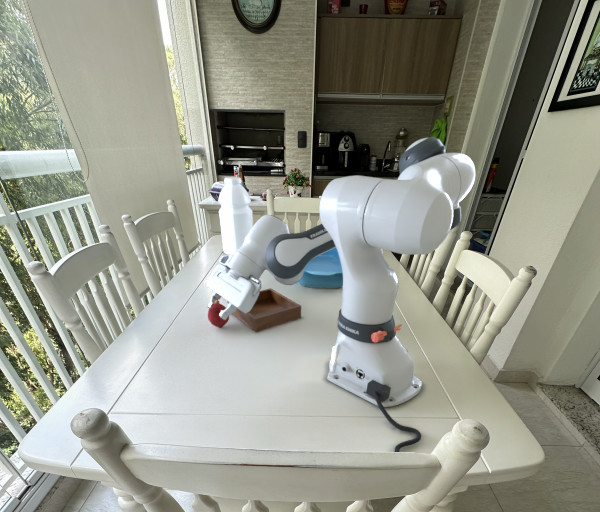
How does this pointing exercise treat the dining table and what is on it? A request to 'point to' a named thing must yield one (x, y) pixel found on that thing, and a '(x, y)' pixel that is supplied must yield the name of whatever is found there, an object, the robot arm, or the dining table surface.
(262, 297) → the tray
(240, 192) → the bottle
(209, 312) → the onion
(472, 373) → the dining table surface
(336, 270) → the casserole dish
